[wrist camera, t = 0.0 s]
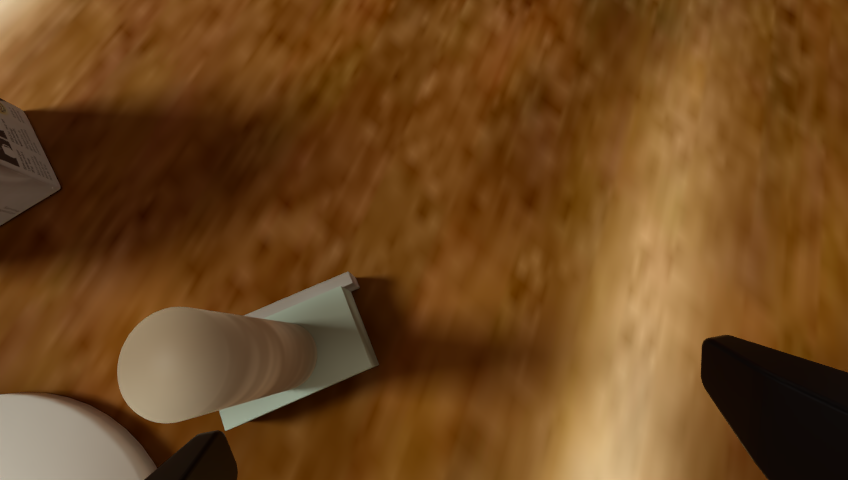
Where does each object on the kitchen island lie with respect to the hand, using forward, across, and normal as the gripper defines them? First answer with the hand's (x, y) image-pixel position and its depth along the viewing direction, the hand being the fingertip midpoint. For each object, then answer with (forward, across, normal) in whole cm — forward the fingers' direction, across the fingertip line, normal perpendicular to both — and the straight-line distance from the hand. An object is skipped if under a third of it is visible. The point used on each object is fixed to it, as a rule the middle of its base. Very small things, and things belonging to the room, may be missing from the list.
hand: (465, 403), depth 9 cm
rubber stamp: (+14, +7, +6) cm, 17 cm away
